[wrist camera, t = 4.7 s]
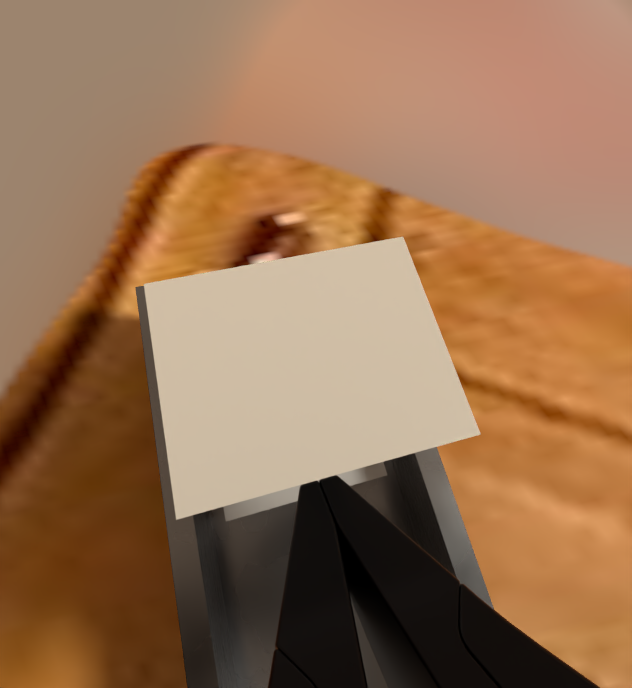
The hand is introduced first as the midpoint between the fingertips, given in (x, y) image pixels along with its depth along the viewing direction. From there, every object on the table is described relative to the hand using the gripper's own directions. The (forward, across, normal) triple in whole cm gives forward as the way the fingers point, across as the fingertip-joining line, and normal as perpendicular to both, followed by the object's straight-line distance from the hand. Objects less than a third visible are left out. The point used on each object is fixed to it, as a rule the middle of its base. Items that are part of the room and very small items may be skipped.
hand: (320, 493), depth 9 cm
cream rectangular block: (+6, 0, +3) cm, 7 cm away
